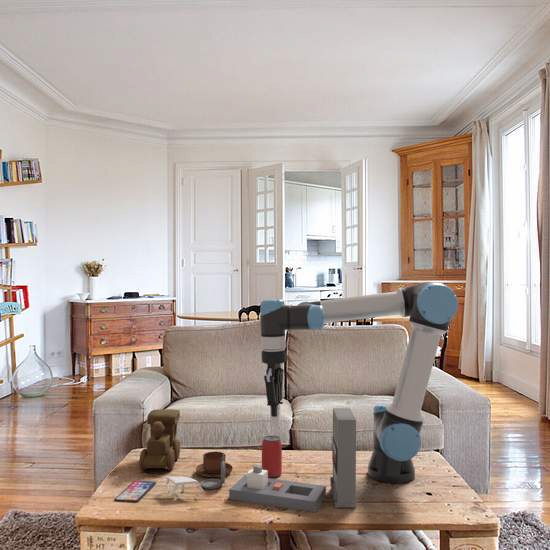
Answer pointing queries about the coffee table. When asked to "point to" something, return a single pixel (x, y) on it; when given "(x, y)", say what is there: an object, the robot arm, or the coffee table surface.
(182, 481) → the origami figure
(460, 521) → the coffee table surface
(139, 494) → the smartphone
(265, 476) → the plug
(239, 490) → the power strip
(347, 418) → the upright grey rectangular panel
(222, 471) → the pocket watch
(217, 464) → the cup and saucer
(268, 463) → the beer can
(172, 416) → the wooden toy train
